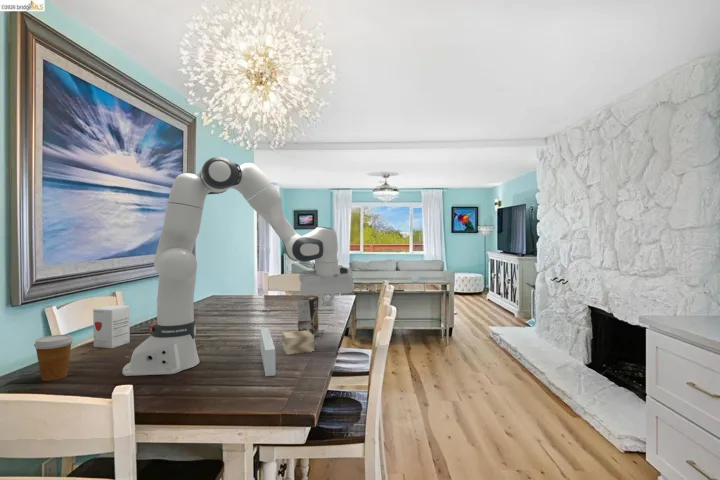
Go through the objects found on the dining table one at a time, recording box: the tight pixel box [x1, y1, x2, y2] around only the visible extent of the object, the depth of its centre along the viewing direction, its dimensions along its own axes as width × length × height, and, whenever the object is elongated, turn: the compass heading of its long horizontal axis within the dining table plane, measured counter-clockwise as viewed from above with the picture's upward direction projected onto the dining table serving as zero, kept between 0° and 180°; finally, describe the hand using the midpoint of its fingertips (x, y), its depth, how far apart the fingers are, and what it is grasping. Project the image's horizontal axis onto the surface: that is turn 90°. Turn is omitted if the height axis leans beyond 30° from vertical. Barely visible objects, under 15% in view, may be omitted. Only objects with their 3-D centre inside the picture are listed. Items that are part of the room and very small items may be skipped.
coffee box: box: [297, 296, 319, 338], centre depth 171 cm, size 9×6×16 cm
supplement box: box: [92, 304, 131, 349], centre depth 160 cm, size 9×9×15 cm
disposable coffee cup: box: [33, 334, 74, 382], centre depth 124 cm, size 10×10×12 cm
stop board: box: [259, 327, 277, 377], centre depth 138 cm, size 3×30×8 cm, turn 17°
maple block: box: [282, 330, 315, 355], centre depth 151 cm, size 10×9×6 cm
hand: (327, 305), depth 154 cm, fingers closed
